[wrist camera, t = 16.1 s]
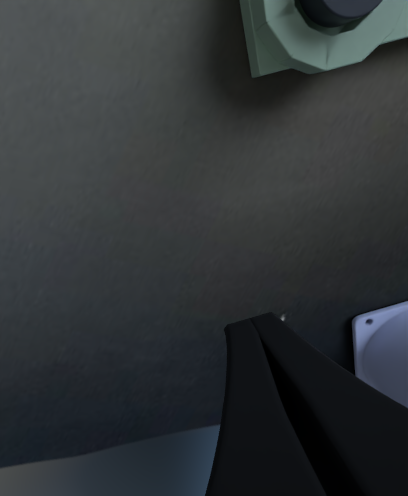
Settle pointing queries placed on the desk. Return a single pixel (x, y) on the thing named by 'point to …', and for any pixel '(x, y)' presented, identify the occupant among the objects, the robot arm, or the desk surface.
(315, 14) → the button
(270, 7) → the green flat slab
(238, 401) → the robot arm
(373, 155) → the desk surface
